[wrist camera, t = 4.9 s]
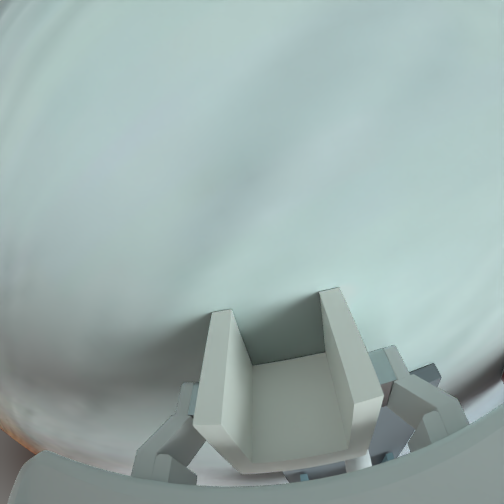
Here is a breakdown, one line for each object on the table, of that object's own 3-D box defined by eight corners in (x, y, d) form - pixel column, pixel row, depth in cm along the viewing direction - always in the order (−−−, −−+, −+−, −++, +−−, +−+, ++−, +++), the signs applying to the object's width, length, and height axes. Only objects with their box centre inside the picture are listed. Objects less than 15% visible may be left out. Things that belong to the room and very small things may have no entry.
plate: (254, 408, 14) (255, 489, 9) (434, 362, 13) (467, 429, 8) (289, 475, 21) (292, 516, 16) (393, 450, 20) (403, 490, 15)
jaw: (212, 312, 11) (192, 425, 6) (339, 287, 10) (384, 395, 6) (244, 385, 13) (241, 474, 8) (342, 367, 12) (366, 454, 8)
